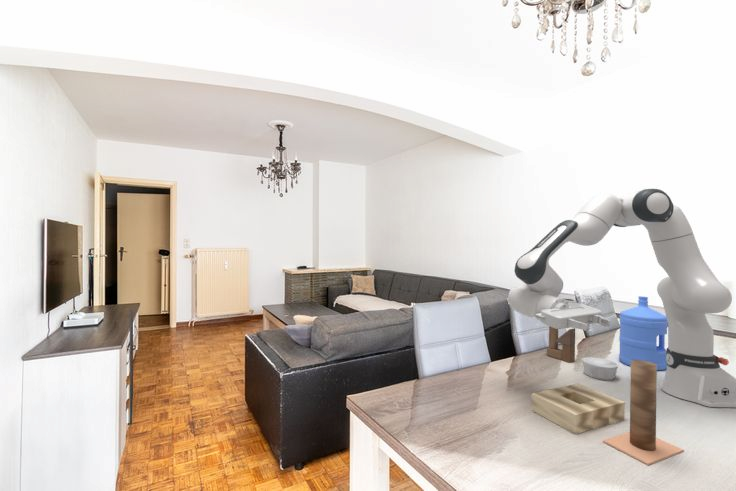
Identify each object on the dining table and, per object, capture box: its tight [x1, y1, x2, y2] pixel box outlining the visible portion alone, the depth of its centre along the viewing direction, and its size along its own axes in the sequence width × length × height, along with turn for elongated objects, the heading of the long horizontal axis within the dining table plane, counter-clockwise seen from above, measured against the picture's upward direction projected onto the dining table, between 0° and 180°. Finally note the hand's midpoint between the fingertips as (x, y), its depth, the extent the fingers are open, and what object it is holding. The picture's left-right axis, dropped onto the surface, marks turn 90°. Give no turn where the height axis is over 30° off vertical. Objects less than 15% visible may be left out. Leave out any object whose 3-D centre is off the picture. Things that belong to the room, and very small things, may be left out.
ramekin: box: [581, 356, 619, 381], centre depth 132 cm, size 11×11×5 cm
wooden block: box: [546, 326, 576, 364], centre depth 151 cm, size 4×11×18 cm, turn 26°
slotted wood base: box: [531, 383, 626, 435], centre depth 101 cm, size 20×14×5 cm
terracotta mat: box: [602, 431, 685, 466], centre depth 85 cm, size 14×10×1 cm
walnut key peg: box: [629, 360, 658, 451], centre depth 85 cm, size 5×5×20 cm
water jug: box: [618, 296, 668, 371], centre depth 145 cm, size 16×16×28 cm
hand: (598, 325), depth 97 cm, fingers open, 8 cm apart
